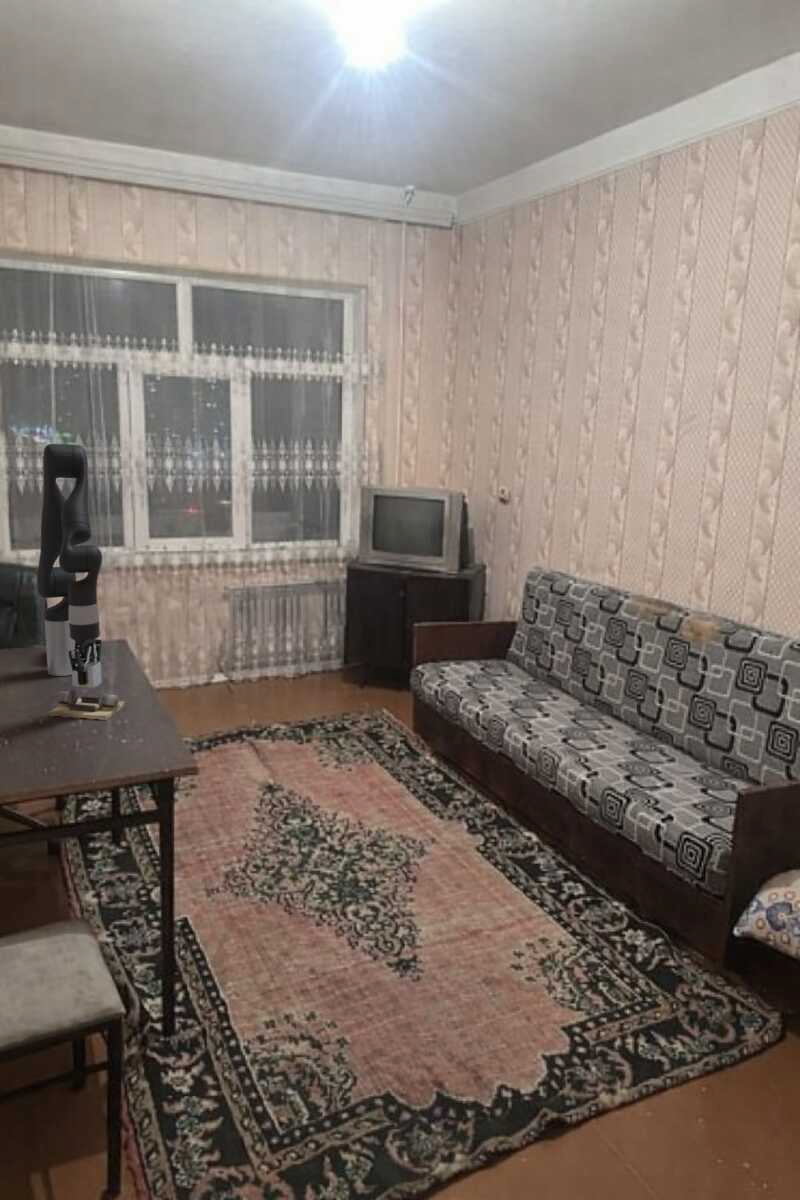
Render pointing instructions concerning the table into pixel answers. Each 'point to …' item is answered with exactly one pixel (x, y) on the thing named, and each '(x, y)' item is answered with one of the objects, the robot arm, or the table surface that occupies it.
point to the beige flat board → (86, 705)
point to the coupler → (89, 675)
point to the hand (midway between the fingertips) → (87, 681)
